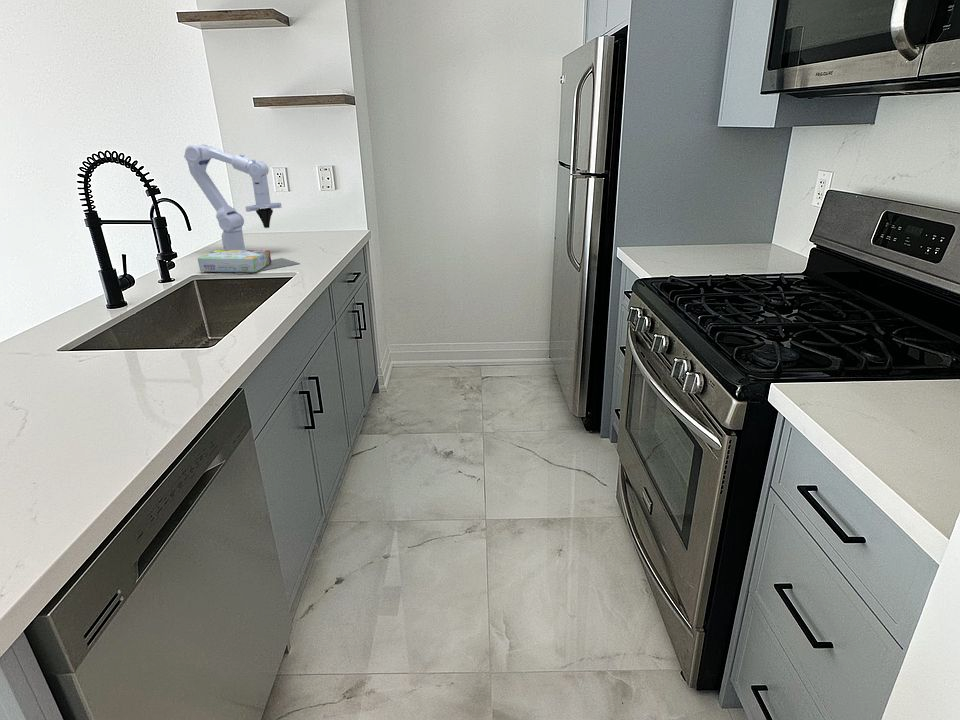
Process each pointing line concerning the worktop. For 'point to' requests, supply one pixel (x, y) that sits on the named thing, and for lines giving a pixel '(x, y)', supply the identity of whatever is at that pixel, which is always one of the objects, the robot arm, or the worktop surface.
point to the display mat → (274, 265)
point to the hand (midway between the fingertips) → (266, 227)
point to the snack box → (234, 260)
